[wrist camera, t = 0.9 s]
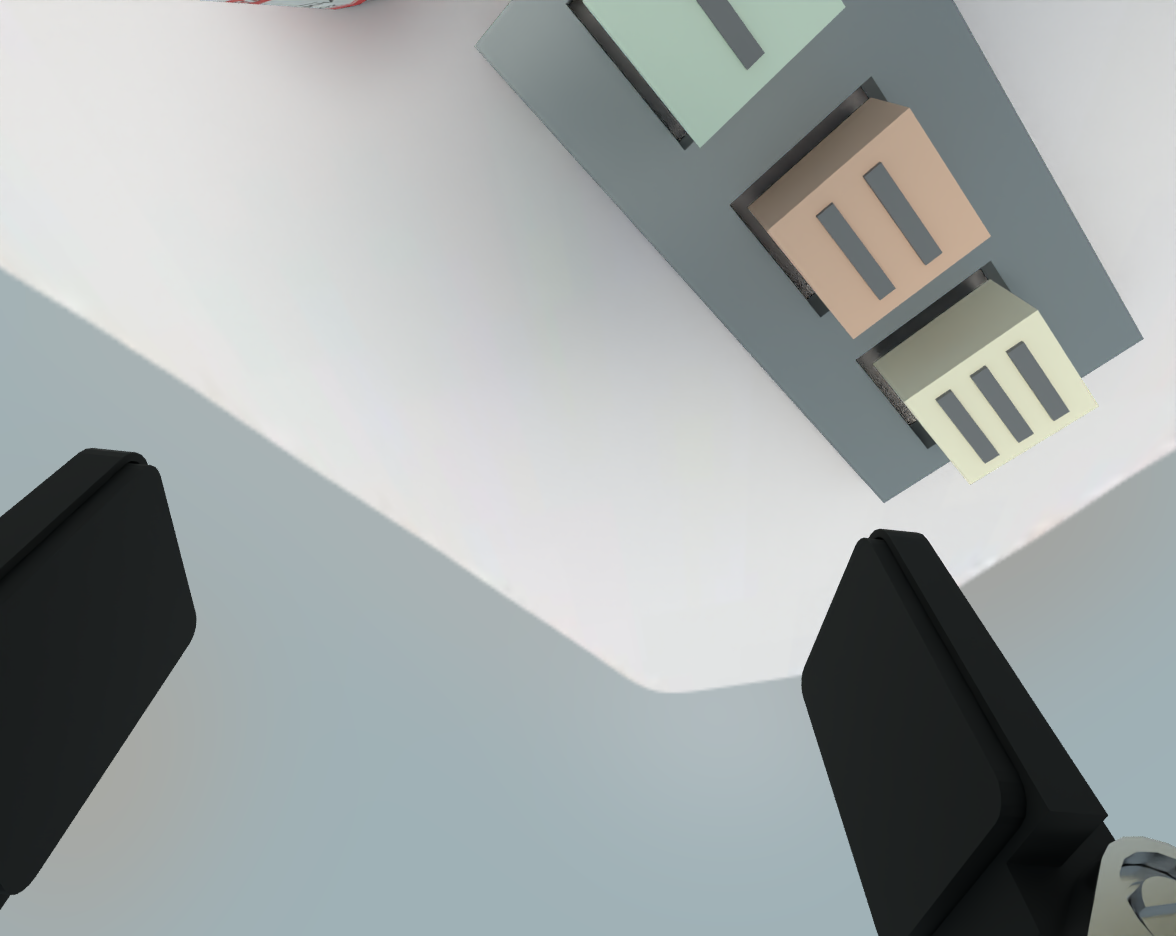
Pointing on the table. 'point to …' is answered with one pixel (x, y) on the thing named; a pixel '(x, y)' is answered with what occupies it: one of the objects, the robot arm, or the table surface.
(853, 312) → the tile two
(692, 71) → the tile one
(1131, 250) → the table surface
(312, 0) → the beer can
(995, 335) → the tile three
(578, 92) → the board
